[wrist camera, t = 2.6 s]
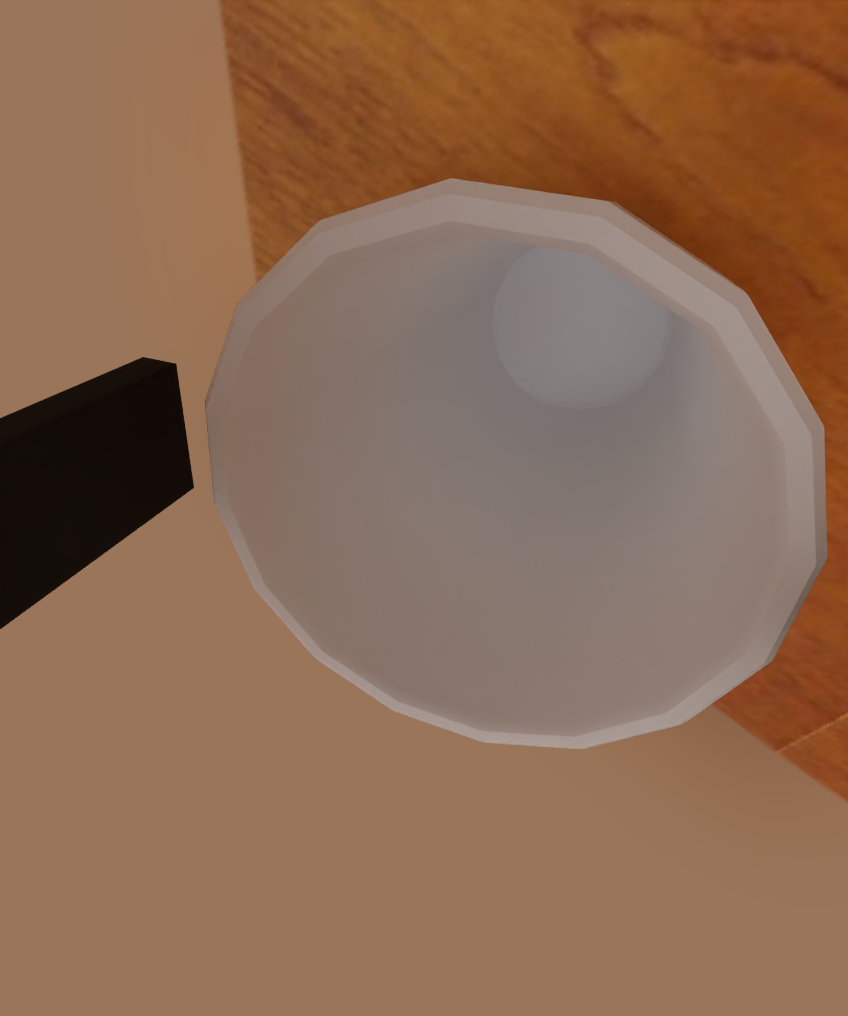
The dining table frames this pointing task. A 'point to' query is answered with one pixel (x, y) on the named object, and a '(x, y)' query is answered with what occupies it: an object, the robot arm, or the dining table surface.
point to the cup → (517, 464)
